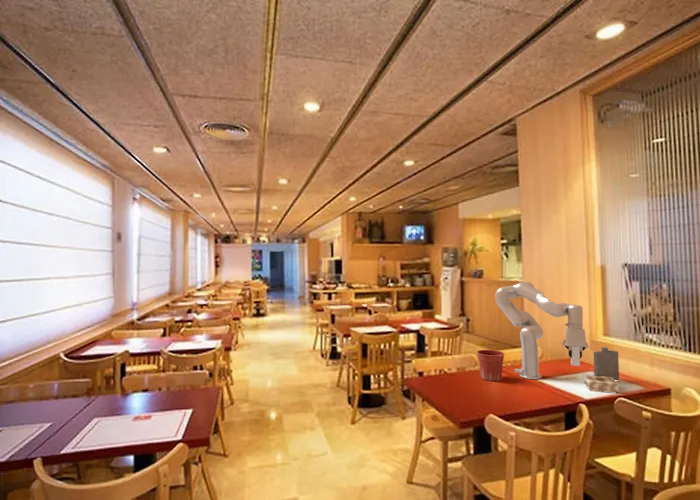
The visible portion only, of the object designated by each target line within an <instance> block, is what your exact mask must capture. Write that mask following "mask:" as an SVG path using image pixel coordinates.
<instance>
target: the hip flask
mask: <svg viewBox="0 0 700 500" xmlns="http://www.w3.org/2000/svg"><path fill="white" fill-rule="evenodd" d="M593 376H604V377H612V378H613V379H614V380H619V381H620V368H619V351H617V350H611V349H610V350H609V347H606V346H601V350H599V351H593Z"/></svg>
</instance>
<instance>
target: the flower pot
mask: <svg viewBox="0 0 700 500" xmlns="http://www.w3.org/2000/svg"><path fill="white" fill-rule="evenodd" d="M476 354H477V359H478V362H479V363H478V364H479V373H480V378H481V379H482V380H484V381H488V382H493V381H495V382H499V381H501V380H502V376H503V364H504V359H505V358H504V357H505V354H506V353H505V352H503V351H499V350H495V349H480V350H477V351H476Z"/></svg>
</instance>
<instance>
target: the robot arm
mask: <svg viewBox="0 0 700 500" xmlns="http://www.w3.org/2000/svg"><path fill="white" fill-rule="evenodd" d="M520 297H523V298H524V299H526V300H527V301H530V302H532V303H533V304H535V305H536V306H537V307H539V309H541V310H542V311H543V312H544V313H547V314H549V315H551V316H553V317H556V318H561V317H566V316H567V323H565V324H564V326H565V327H566V329H565V335H564V336H565V337H564V338H565V339H563V341H562V343H561V345H562V346H563V347H564V348H566V349H567V351H568V357H569V358H570V359H571V358H572V351H571V347H572V346H577V347H580V360H581V359H582V357H583V351H585V350H586V349H588V348H589V347H590V345H589V344H588V343H587V341H586V331H585V329H584V328H583V325H584V324H583V322H584V321H583V320H584V319H583V318H584V316H583V314H584V313H583V309H584V308H583V306H582V305H579V304H570V303H569V304H568V303H563V302H561V303H556V302H554V301H551V300H550V299H548V298H547V297H546V295H545V293H544V292H543V291H541V290H539V289H538V288H535V285H534V284H533V283H531V282H529V281H520V282H518V283H517V284H514V285H509V286H507V285H506V286H501V287H499V288H498V289H497V290H496V292H495V294H494V299H495V303H496V305H497V307H498V308H499V309H500V311H502V312H503V314H504V315H505V316H506V317H507V319H508V320H509V321H510V322H511V324H512V325H513V326H514V327H516V328H521V327H522V328H521V330H520V332H519V338H520V343H521V344H520V345H521V367H520V368H514V373H517V374H518V373H519V376H520V377H521V378H523V379H527V380H540V379H542V377H543V376H542V374H540V372H539V371H540V370H539V366H540V364H539V347H538V342H537V340H540V339H541V338H542V337H543V335H544V331H543V328H542V327H541V325H540V323H538V321H536V319H535V318H534V317H533V315H532V314H530V312H527V311H525V310H520V309H518V307H517V306H516V305H515V304H514V303H513V302H512V301H511V300H513V299H517V298H520Z"/></svg>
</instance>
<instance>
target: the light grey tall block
mask: <svg viewBox="0 0 700 500" xmlns="http://www.w3.org/2000/svg"><path fill="white" fill-rule="evenodd" d="M571 351H572V358H570V365H571V366H575V367H581V362H580V361H581V359H580V347H577V346H572V347H571Z"/></svg>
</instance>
